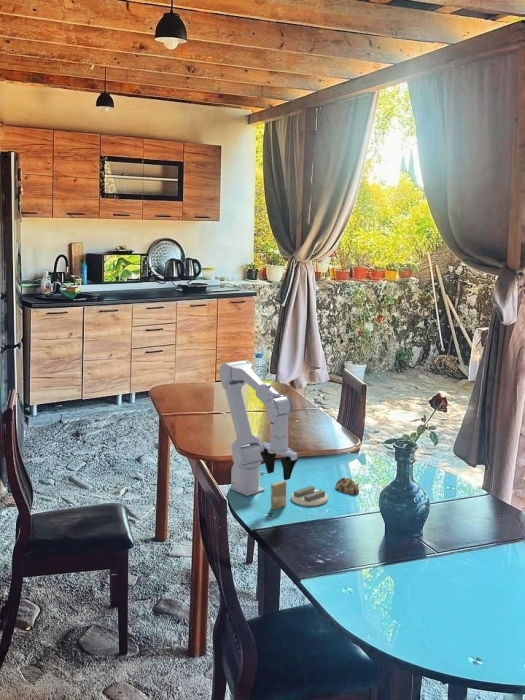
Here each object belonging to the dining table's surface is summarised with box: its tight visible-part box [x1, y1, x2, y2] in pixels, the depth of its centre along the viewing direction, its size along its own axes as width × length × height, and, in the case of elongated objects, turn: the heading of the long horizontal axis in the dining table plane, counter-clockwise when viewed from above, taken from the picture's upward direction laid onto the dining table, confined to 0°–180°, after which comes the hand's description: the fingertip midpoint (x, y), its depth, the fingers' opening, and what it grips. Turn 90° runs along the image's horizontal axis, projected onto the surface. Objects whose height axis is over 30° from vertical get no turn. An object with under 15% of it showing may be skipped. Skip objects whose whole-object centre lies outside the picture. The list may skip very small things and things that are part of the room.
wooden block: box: [270, 480, 287, 511], centre depth 232 cm, size 2×5×8 cm, turn 132°
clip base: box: [290, 485, 329, 507], centre depth 239 cm, size 12×12×2 cm
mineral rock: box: [334, 477, 360, 495], centre depth 247 cm, size 11×4×8 cm
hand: (278, 476), depth 231 cm, fingers open, 7 cm apart
